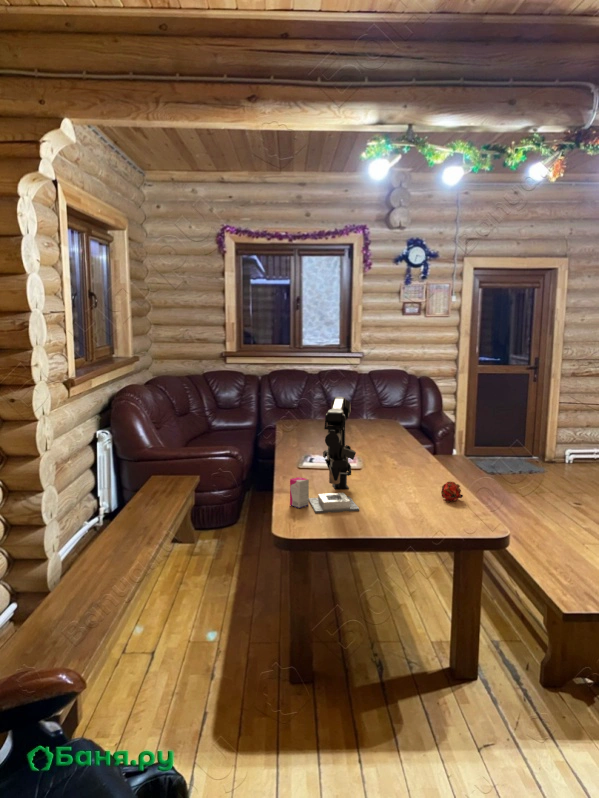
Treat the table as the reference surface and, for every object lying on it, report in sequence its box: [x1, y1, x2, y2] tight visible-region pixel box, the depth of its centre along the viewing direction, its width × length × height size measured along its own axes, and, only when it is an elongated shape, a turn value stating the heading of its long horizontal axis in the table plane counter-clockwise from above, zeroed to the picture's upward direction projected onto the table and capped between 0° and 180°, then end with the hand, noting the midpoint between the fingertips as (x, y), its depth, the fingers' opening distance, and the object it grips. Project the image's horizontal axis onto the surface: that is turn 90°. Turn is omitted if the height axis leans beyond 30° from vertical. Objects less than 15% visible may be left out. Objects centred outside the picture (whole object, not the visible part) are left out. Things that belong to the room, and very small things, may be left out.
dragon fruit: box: [440, 481, 464, 503], centre depth 240 cm, size 8×8×12 cm
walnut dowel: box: [328, 466, 340, 485], centre depth 229 cm, size 4×4×7 cm
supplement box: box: [289, 476, 310, 509], centre depth 232 cm, size 6×6×12 cm
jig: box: [309, 492, 360, 514], centre depth 232 cm, size 16×18×4 cm
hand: (334, 478), depth 230 cm, fingers closed on walnut dowel, 4 cm apart
